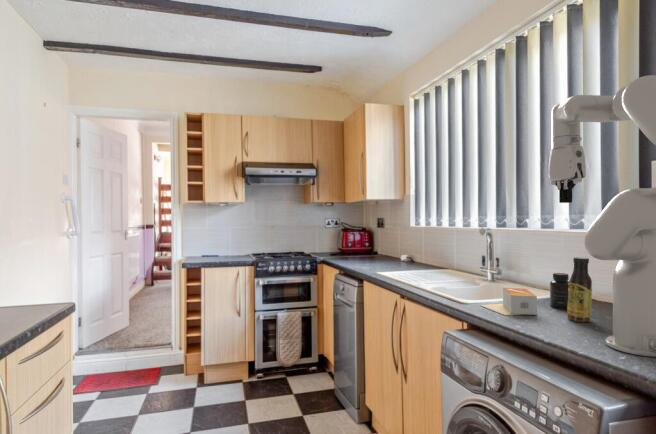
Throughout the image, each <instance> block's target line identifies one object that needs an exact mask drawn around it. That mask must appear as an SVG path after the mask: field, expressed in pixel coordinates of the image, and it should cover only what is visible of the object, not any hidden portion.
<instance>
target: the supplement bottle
mask: <svg viewBox="0 0 656 434" xmlns="http://www.w3.org/2000/svg"><path fill="white" fill-rule="evenodd" d="M569 277H570V276H569V274H568V273H563V272H553V273H552V279H553V280H551V281H550V282H549V303H550V304H549V305H550V307H551V308H554V309H559V310H560V309H561V310H567V306H568V283H569V281H570V279H569Z"/></svg>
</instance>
